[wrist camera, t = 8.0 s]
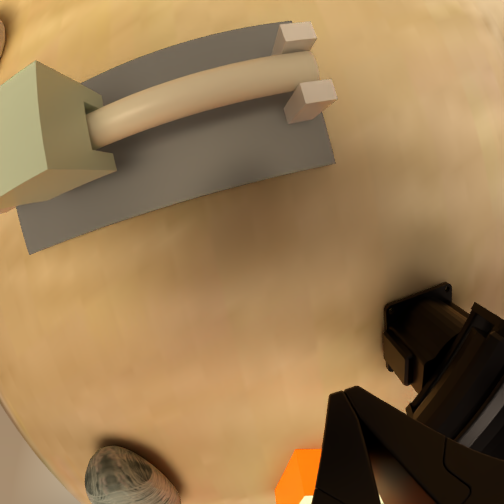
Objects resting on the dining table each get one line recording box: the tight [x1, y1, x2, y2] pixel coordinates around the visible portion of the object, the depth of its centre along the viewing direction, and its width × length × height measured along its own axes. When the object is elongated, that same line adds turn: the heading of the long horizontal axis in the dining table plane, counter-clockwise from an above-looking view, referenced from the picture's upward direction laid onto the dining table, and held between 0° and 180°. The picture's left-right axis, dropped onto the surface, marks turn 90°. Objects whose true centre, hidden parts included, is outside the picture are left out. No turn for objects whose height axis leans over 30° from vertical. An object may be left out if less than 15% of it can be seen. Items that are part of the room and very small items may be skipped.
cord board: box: [0, 21, 338, 255], centre depth 14 cm, size 22×10×7 cm, turn 104°
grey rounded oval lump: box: [85, 446, 181, 504], centre depth 21 cm, size 14×10×10 cm
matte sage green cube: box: [0, 61, 117, 209], centre depth 11 cm, size 5×5×6 cm
